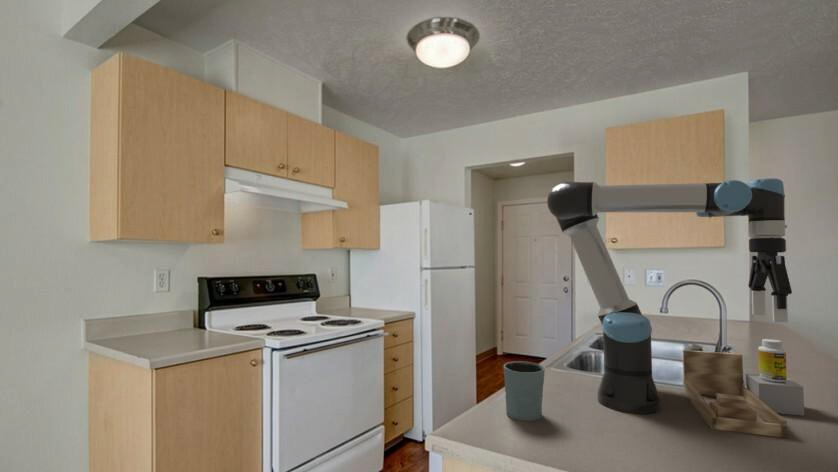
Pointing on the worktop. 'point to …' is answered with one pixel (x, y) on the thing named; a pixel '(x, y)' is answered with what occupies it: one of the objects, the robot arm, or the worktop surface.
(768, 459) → the worktop surface
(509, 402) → the grey-green cup
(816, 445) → the worktop surface
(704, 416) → the light wood open box
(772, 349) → the supplement bottle
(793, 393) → the stone plinth
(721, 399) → the offcut block
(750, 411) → the offcut slab top
